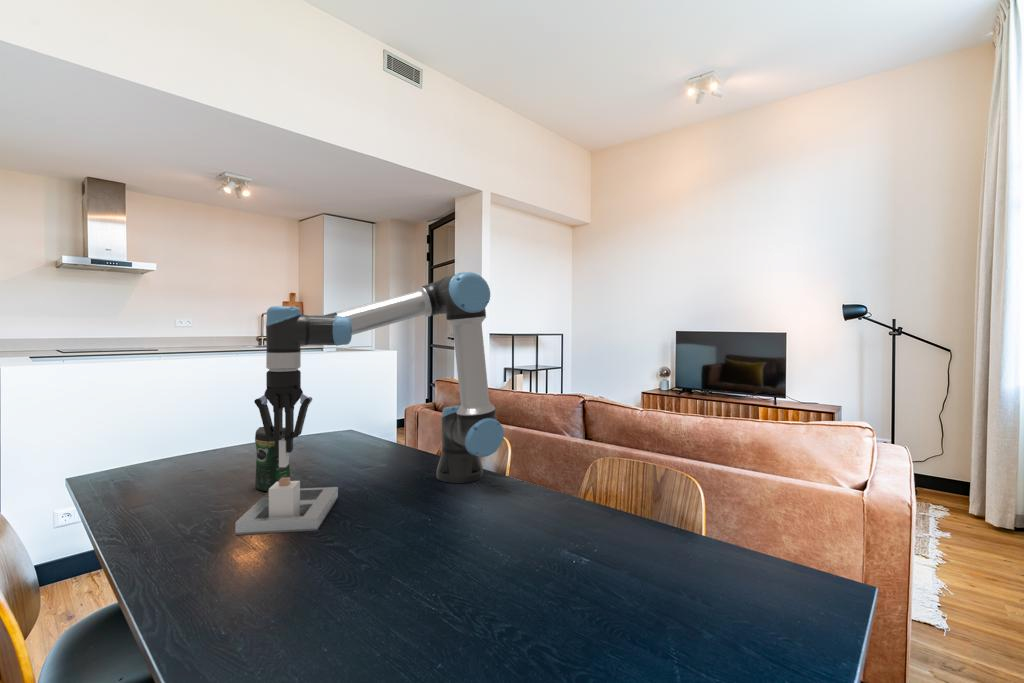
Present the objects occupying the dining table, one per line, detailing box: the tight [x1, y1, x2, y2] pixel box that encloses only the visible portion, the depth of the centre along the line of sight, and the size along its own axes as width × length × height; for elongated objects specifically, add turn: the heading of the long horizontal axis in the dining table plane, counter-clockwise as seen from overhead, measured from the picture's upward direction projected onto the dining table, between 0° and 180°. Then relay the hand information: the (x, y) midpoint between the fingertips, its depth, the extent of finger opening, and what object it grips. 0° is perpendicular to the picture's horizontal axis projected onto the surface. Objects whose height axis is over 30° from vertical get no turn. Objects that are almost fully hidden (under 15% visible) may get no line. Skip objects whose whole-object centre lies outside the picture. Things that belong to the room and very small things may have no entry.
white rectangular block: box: [268, 476, 301, 518], centre depth 114 cm, size 6×6×10 cm
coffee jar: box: [254, 425, 291, 492], centre depth 140 cm, size 10×8×19 cm
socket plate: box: [235, 486, 339, 536], centre depth 120 cm, size 18×22×3 cm
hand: (284, 465), depth 114 cm, fingers closed
